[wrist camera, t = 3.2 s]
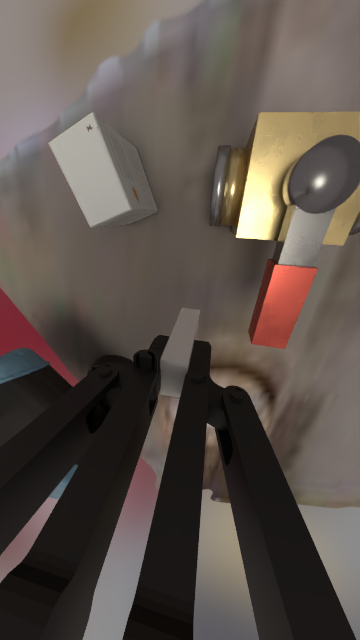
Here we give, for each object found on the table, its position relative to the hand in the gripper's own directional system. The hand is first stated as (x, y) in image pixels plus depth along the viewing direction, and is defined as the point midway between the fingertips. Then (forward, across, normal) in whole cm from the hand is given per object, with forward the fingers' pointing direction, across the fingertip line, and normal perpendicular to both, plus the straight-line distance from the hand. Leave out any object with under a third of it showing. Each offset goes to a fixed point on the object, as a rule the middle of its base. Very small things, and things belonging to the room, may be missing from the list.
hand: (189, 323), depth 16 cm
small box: (+18, -12, +11) cm, 24 cm away
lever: (+6, +8, +5) cm, 11 cm away
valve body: (+18, +8, +11) cm, 22 cm away
